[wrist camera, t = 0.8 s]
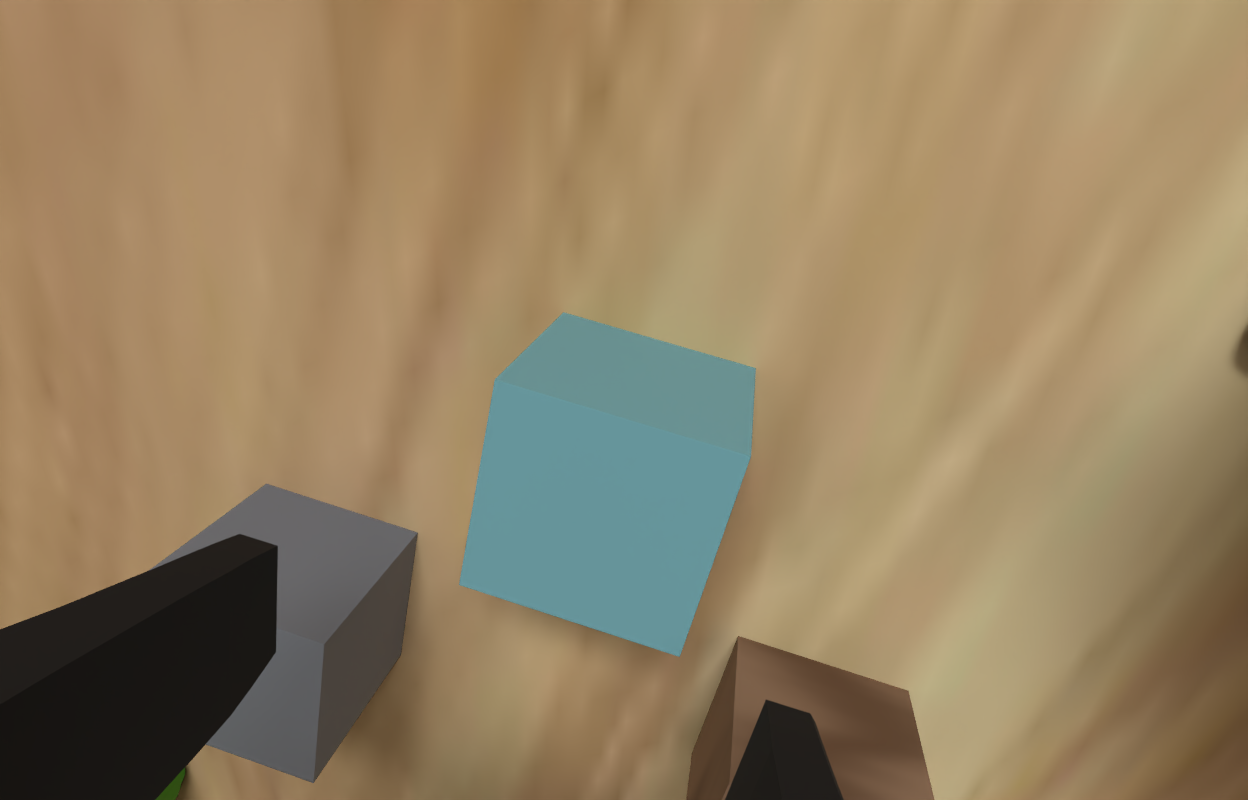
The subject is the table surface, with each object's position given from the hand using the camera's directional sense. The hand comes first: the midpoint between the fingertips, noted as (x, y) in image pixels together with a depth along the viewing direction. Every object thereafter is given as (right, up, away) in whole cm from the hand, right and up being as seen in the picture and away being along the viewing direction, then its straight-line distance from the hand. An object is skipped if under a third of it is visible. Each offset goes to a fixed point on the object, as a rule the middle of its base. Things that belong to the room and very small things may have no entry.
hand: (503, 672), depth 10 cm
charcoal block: (-8, -2, +13) cm, 15 cm away
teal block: (+2, +3, +9) cm, 10 cm away
